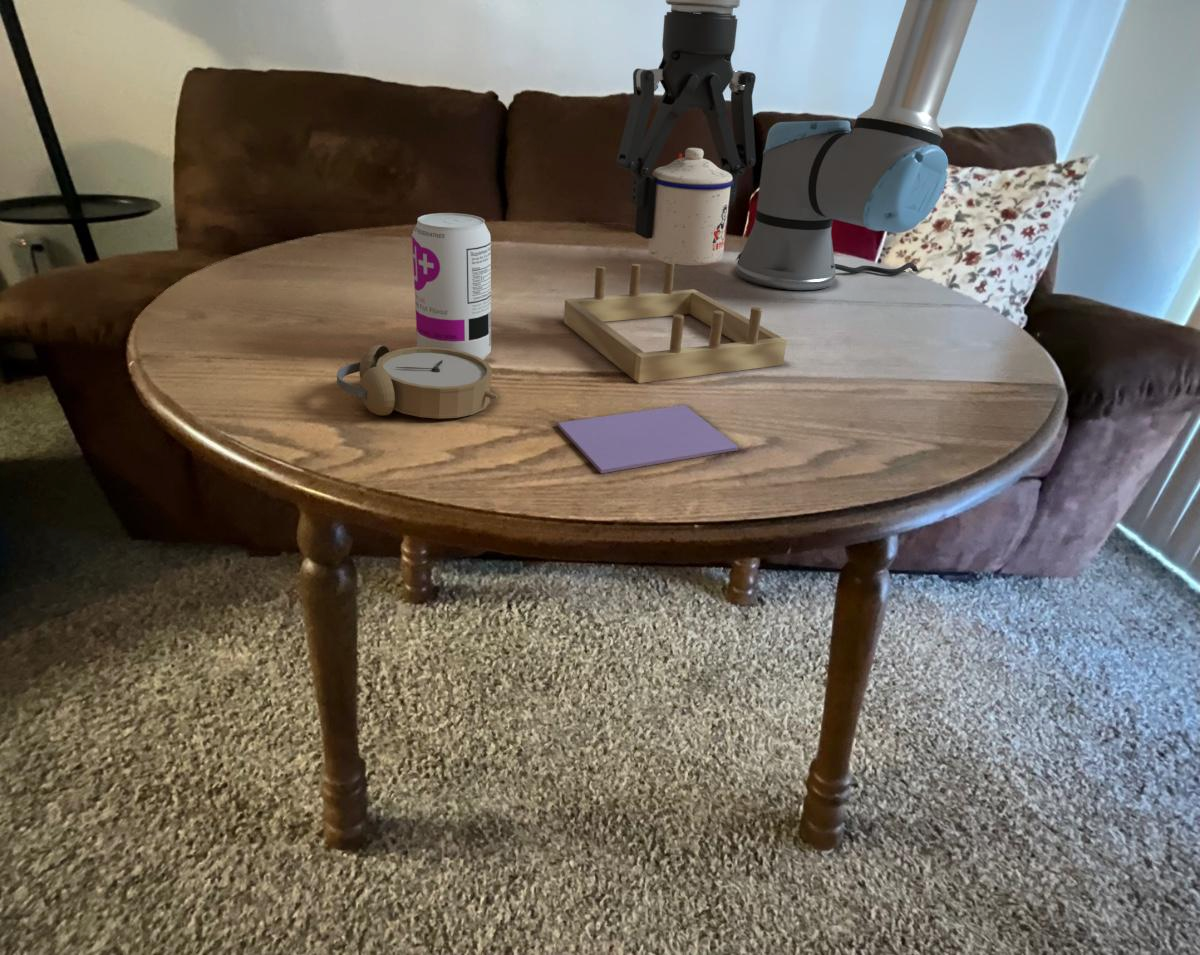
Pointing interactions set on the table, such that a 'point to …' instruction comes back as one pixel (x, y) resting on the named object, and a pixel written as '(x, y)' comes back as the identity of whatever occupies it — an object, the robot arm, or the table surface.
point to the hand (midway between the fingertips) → (681, 233)
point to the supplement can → (453, 282)
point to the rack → (672, 331)
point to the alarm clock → (420, 382)
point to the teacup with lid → (690, 211)
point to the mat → (645, 438)
